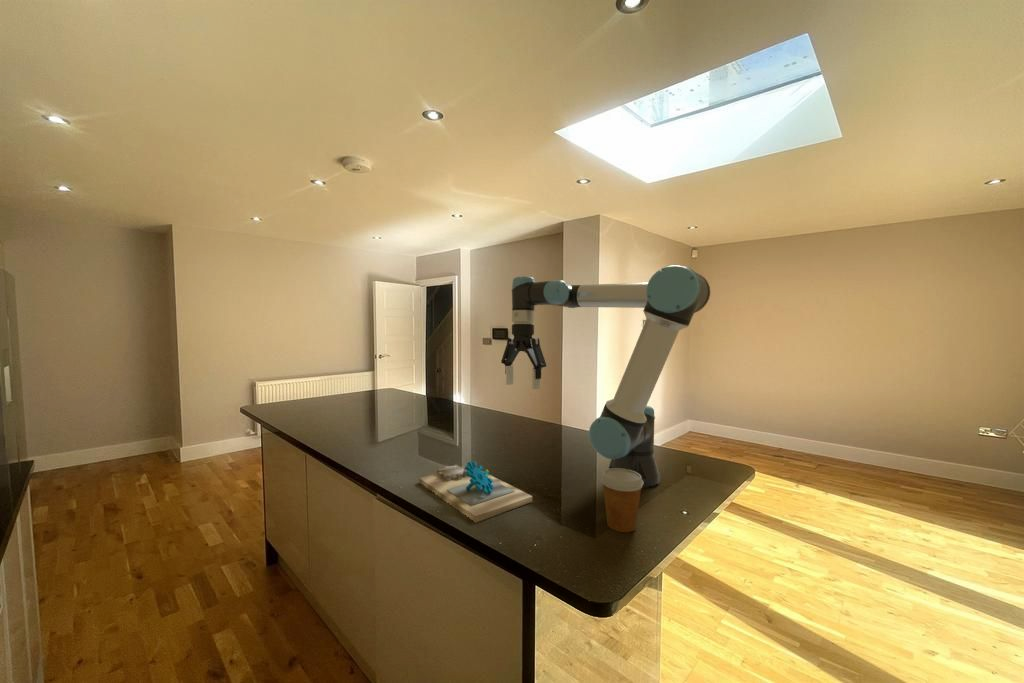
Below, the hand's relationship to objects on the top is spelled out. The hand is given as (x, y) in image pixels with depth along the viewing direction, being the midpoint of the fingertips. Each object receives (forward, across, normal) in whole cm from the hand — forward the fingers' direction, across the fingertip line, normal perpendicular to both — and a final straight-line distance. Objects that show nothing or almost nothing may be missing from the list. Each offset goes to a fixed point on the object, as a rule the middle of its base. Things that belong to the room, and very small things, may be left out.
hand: (522, 386), depth 127 cm
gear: (+25, +12, -25) cm, 37 cm away
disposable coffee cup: (+27, +45, -8) cm, 53 cm away
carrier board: (+27, +8, -25) cm, 37 cm away
